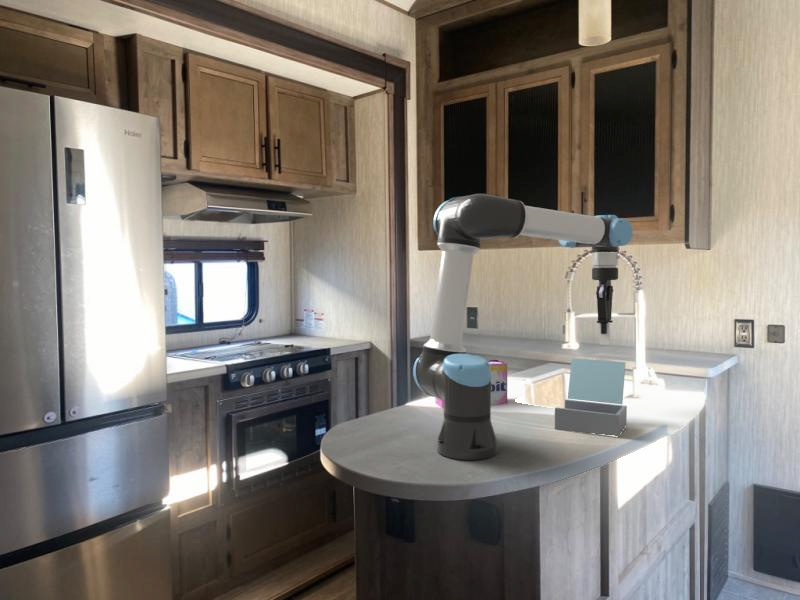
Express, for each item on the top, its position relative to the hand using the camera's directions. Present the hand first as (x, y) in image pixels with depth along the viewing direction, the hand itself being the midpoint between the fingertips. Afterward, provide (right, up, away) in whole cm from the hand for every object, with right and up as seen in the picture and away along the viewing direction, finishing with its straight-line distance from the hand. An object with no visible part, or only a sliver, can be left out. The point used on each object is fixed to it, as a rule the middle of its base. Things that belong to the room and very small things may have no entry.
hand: (604, 344), depth 184 cm
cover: (-5, -10, -9) cm, 14 cm away
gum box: (-39, -21, +15) cm, 47 cm away
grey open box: (-10, -22, -15) cm, 29 cm away
